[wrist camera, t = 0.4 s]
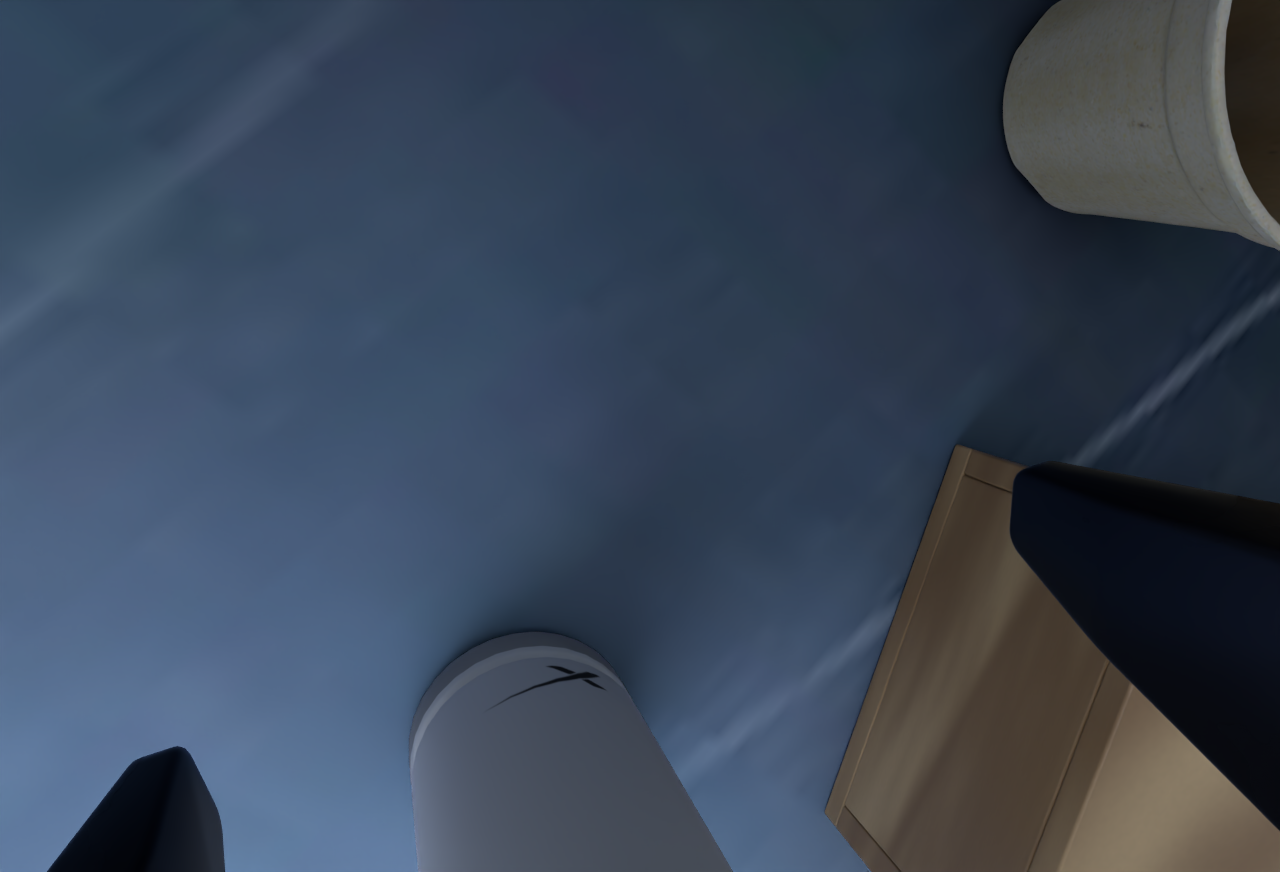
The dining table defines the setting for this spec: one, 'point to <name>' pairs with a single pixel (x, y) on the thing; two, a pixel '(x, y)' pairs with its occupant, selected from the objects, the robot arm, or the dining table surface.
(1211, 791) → the cabinet
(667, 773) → the travel mug
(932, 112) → the dining table surface
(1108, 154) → the flower pot
